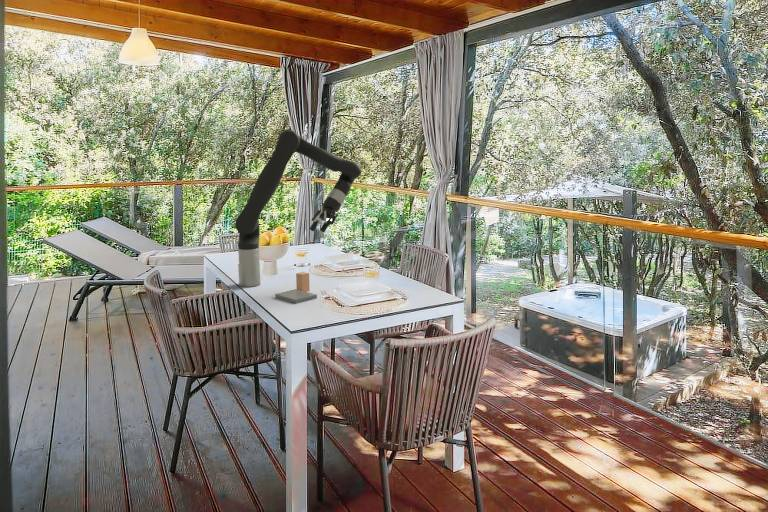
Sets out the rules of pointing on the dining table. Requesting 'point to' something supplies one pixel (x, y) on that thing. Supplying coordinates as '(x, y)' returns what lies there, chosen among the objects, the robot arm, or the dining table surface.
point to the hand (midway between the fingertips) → (316, 230)
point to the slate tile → (296, 296)
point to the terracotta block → (302, 281)
